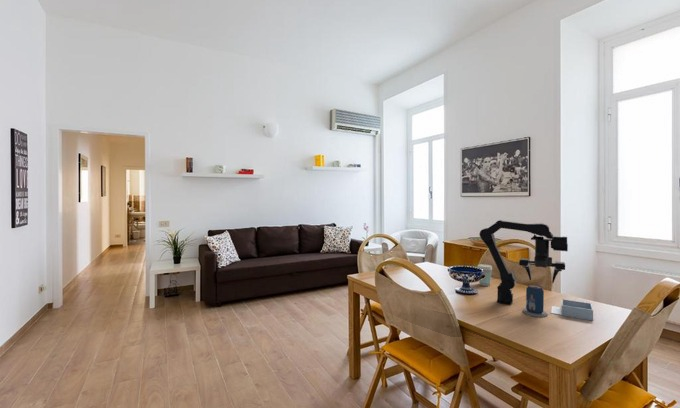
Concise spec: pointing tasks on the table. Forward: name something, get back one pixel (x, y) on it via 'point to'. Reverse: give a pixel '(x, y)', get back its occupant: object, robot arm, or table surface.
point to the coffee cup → (486, 274)
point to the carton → (574, 309)
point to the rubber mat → (535, 314)
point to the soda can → (534, 299)
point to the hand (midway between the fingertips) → (541, 281)
